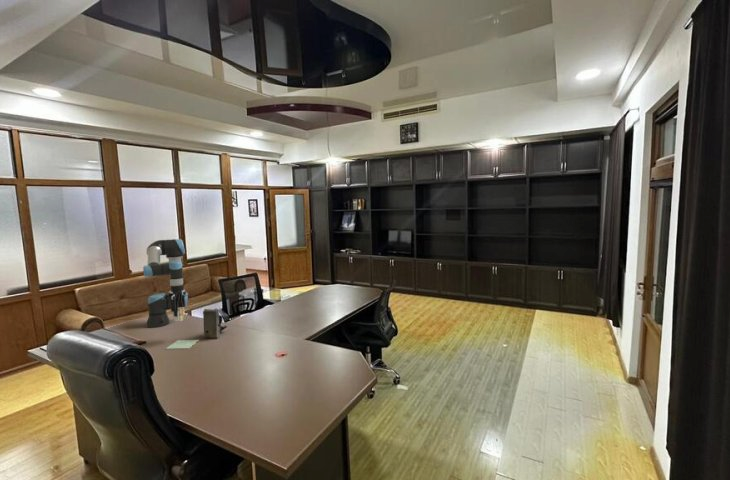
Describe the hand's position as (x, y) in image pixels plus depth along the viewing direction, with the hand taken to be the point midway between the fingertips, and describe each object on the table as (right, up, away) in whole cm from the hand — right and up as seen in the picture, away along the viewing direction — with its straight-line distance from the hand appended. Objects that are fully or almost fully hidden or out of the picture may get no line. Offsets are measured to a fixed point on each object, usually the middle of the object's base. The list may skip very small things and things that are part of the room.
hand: (179, 319), depth 225 cm
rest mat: (+6, -14, -7) cm, 17 cm away
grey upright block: (+20, -13, +10) cm, 26 cm away
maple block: (0, 0, 0) cm, 0 cm away
